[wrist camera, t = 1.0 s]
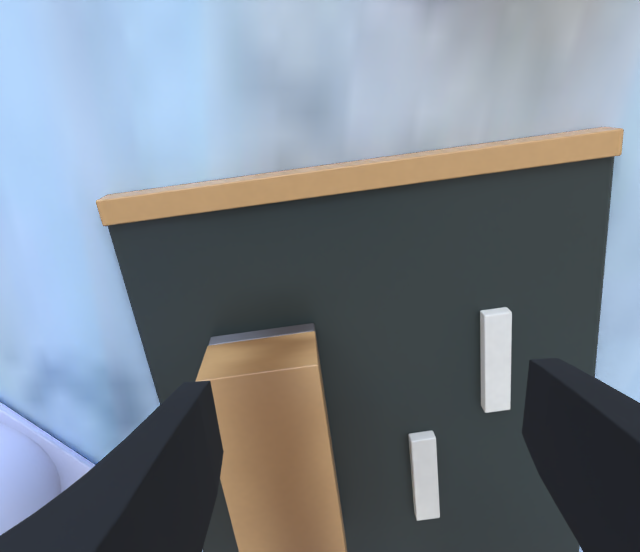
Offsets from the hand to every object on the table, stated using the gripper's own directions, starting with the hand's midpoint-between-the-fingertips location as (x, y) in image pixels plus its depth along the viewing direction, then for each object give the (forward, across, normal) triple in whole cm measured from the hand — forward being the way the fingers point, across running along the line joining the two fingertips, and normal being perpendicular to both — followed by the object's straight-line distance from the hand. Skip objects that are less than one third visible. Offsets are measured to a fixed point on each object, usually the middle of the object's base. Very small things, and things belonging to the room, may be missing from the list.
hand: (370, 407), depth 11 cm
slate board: (+10, -1, +8) cm, 13 cm away
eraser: (+9, +3, +9) cm, 13 cm away
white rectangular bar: (+9, -3, +11) cm, 15 cm away
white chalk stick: (+10, -6, +5) cm, 13 cm away
